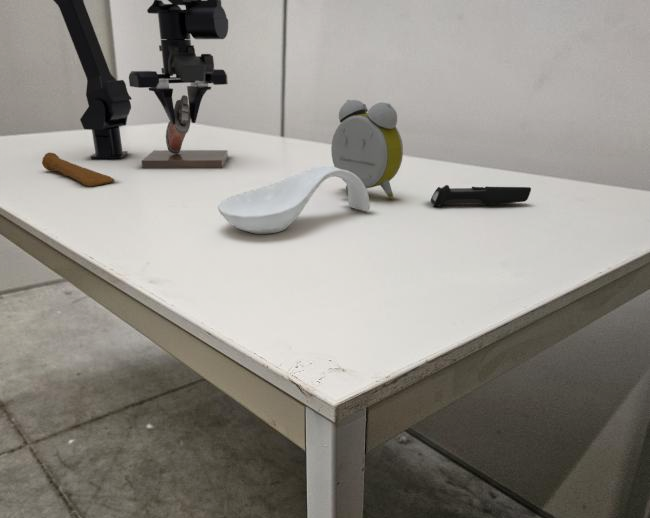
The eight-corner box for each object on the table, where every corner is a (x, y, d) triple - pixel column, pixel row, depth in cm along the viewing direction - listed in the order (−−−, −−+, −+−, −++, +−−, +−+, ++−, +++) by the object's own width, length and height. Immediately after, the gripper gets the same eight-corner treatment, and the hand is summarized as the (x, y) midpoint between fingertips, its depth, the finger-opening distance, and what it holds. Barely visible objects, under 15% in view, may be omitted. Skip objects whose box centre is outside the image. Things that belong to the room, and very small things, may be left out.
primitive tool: (116, 182, 112) (113, 162, 110) (89, 187, 108) (85, 167, 107) (59, 169, 123) (56, 151, 121) (33, 173, 119) (29, 155, 118)
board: (154, 157, 135) (153, 150, 134) (228, 157, 136) (227, 150, 135) (142, 168, 124) (141, 160, 123) (222, 167, 125) (221, 160, 124)
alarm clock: (402, 198, 102) (408, 102, 95) (376, 206, 97) (380, 105, 91) (349, 187, 109) (351, 97, 103) (322, 194, 105) (323, 100, 98)
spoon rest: (247, 247, 78) (244, 190, 75) (204, 226, 87) (200, 174, 84) (385, 217, 91) (387, 168, 88) (336, 201, 100) (337, 156, 97)
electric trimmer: (531, 209, 97) (535, 189, 96) (434, 208, 96) (435, 187, 95) (524, 203, 100) (527, 183, 99) (429, 202, 100) (431, 182, 98)
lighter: (181, 155, 131) (194, 124, 123) (165, 151, 130) (177, 120, 121) (181, 125, 134) (193, 93, 126) (165, 121, 133) (177, 89, 125)
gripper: (143, 39, 109) (154, 131, 115) (237, 39, 119) (242, 124, 125) (122, 39, 117) (133, 125, 124) (212, 39, 127) (218, 119, 133)
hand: (183, 123), depth 126 cm, fingers closed on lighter, 4 cm apart
